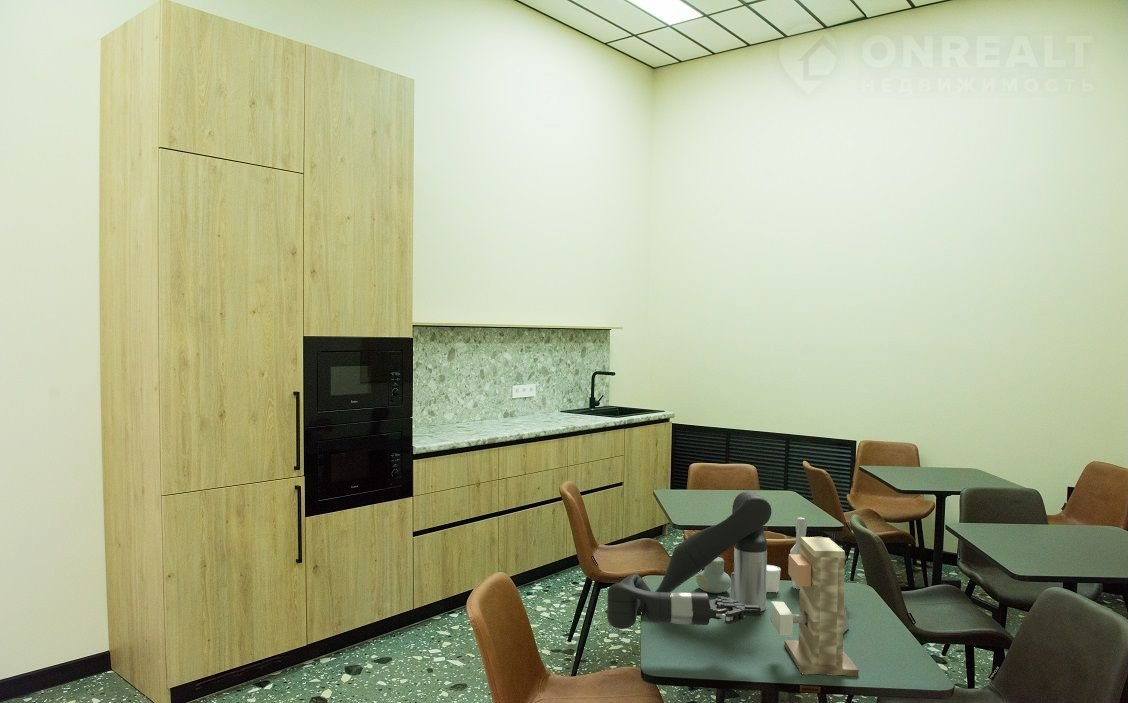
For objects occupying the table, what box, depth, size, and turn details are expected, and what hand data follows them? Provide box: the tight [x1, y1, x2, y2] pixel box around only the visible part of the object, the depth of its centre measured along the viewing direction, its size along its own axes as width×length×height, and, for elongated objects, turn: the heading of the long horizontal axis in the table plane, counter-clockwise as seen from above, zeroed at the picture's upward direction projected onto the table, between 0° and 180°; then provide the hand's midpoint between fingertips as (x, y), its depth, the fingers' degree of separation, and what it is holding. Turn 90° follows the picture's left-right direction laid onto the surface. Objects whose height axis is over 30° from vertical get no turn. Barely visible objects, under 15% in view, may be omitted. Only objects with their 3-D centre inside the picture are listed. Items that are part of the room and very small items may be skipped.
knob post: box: [783, 536, 860, 677], centre depth 178 cm, size 13×16×28 cm
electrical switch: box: [843, 606, 850, 634], centre depth 197 cm, size 9×5×9 cm, turn 141°
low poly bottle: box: [789, 516, 808, 590], centre depth 231 cm, size 6×6×22 cm
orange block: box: [787, 553, 811, 586], centre depth 178 cm, size 8×9×5 cm
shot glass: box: [766, 564, 782, 593], centre depth 229 cm, size 7×7×7 cm
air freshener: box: [696, 556, 731, 594], centre depth 227 cm, size 11×8×10 cm
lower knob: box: [770, 601, 808, 637], centre depth 178 cm, size 8×9×5 cm
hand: (759, 610), depth 179 cm, fingers closed
